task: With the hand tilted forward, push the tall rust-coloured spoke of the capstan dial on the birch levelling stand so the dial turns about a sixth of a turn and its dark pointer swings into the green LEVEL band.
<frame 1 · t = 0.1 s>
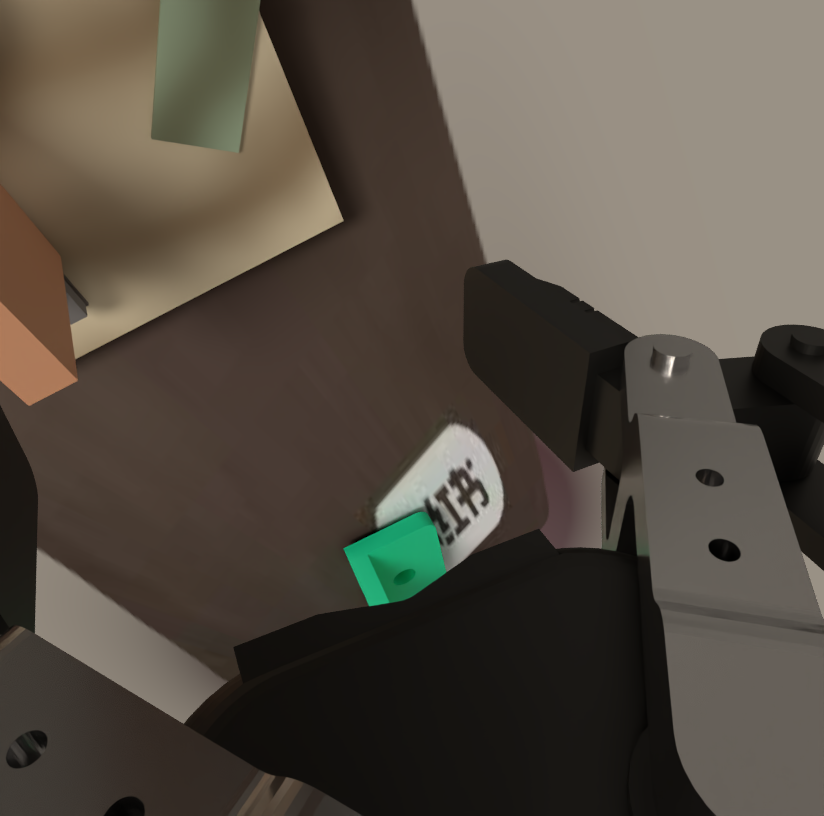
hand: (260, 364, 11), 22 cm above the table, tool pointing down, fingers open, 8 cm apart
camera mount: (391, 552, 60), on the table
level stand: (11, 43, 25), on the table
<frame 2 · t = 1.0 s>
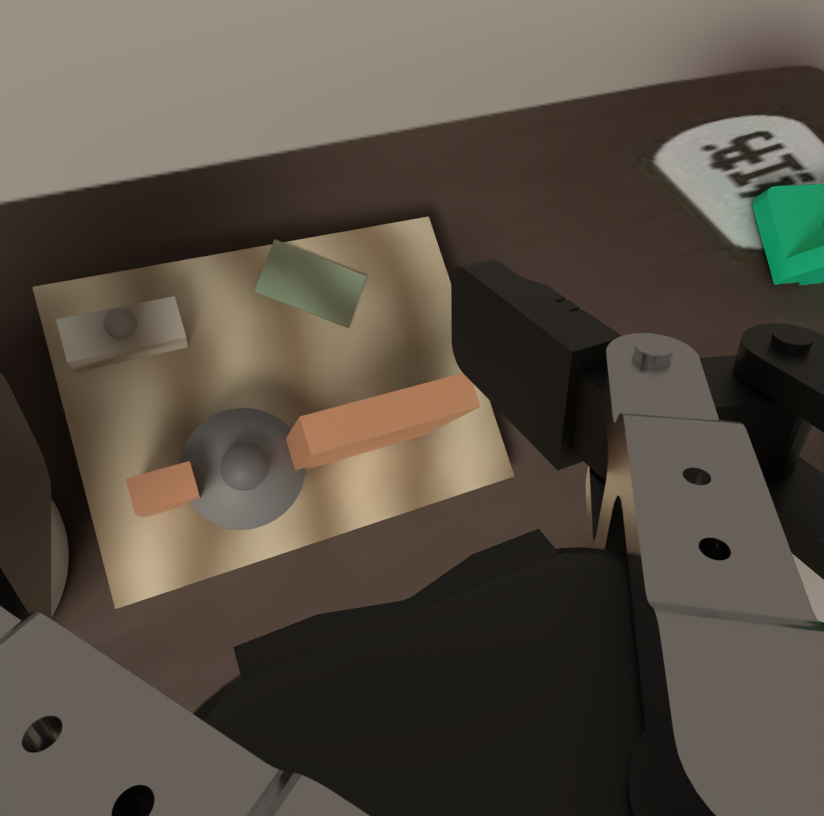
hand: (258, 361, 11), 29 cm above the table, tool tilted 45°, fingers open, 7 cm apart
capstan: (321, 441, 34), point 7 cm above the table, hinge at 0.0°
camera mount: (804, 242, 56), on the table
level stand: (288, 395, 41), on the table
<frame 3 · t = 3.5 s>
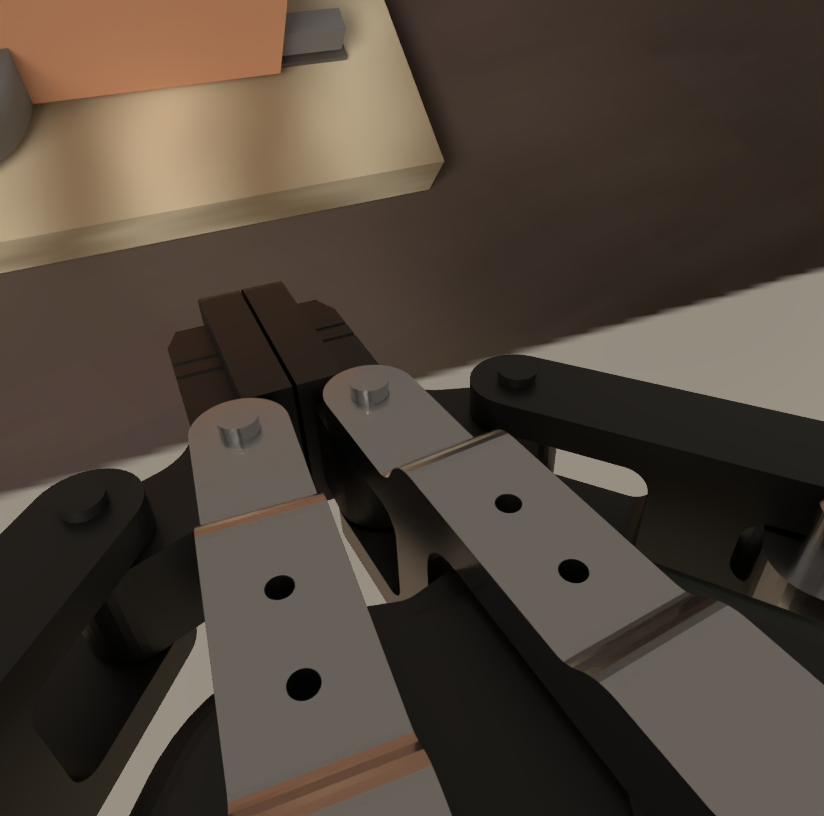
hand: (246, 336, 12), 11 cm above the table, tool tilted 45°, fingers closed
level stand: (45, 23, 23), on the table
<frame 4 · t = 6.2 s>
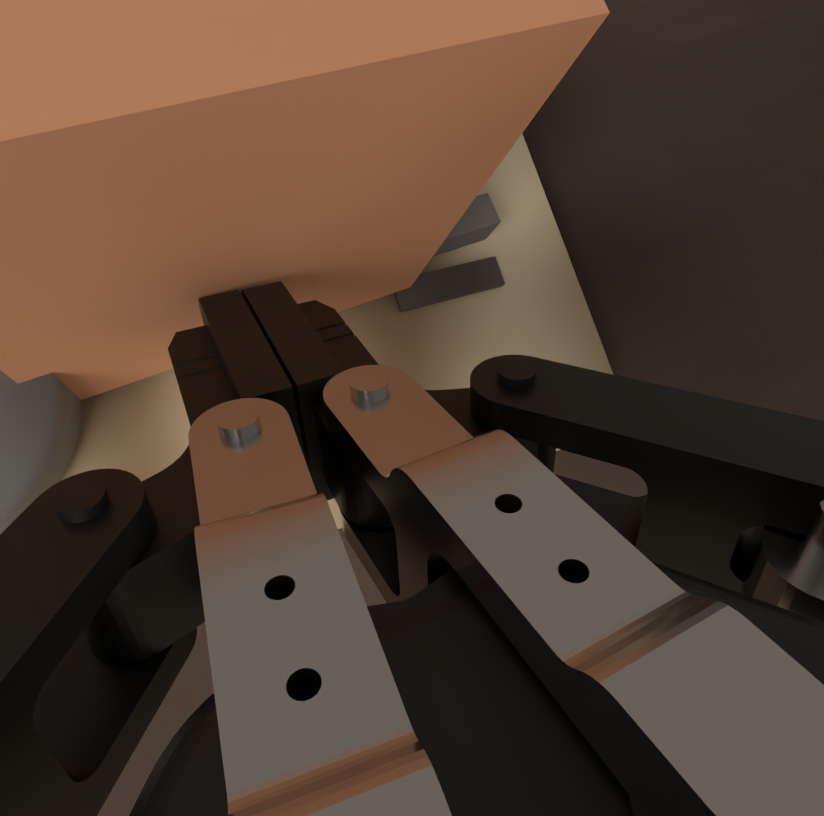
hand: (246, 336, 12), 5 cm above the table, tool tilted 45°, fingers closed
capstan: (57, 264, 10), point 7 cm above the table, hinge at 5.1°, touching gripper
level stand: (87, 240, 17), on the table
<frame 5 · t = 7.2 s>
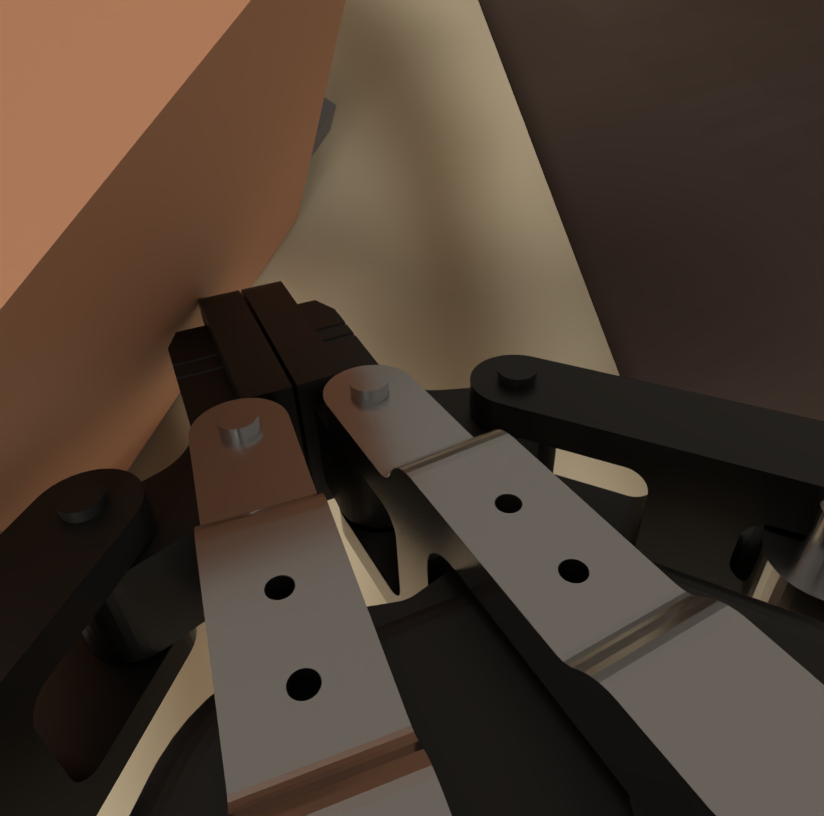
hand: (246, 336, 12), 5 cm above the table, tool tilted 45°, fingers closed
capstan: (22, 409, 9), point 7 cm above the table, hinge at 42.4°, touching gripper
level stand: (138, 398, 16), on the table
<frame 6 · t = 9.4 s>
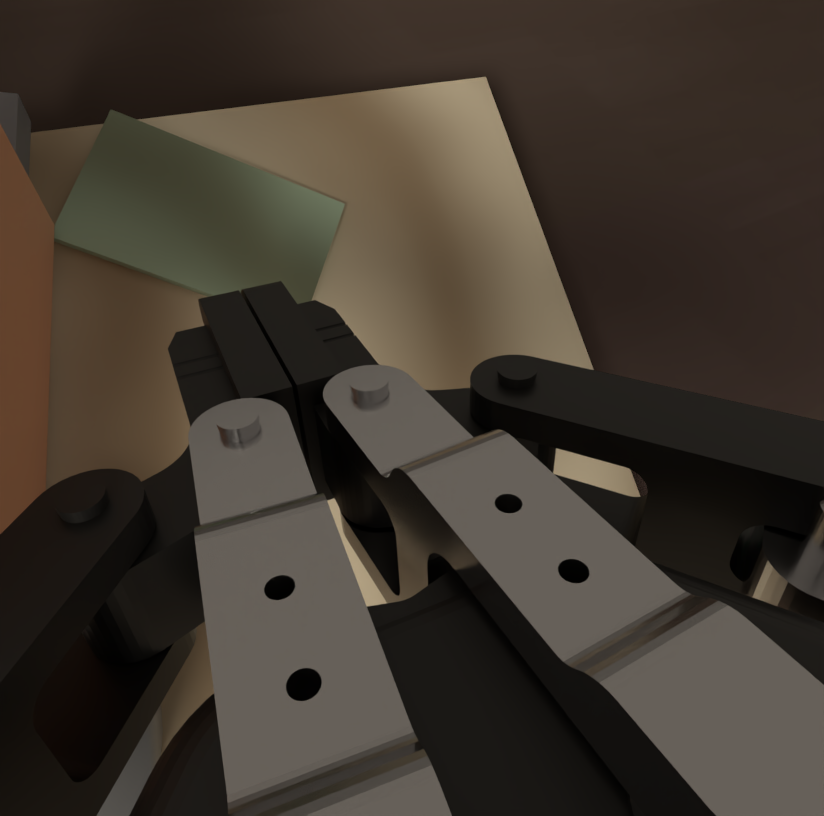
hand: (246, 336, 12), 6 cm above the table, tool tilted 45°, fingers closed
level stand: (156, 498, 16), on the table
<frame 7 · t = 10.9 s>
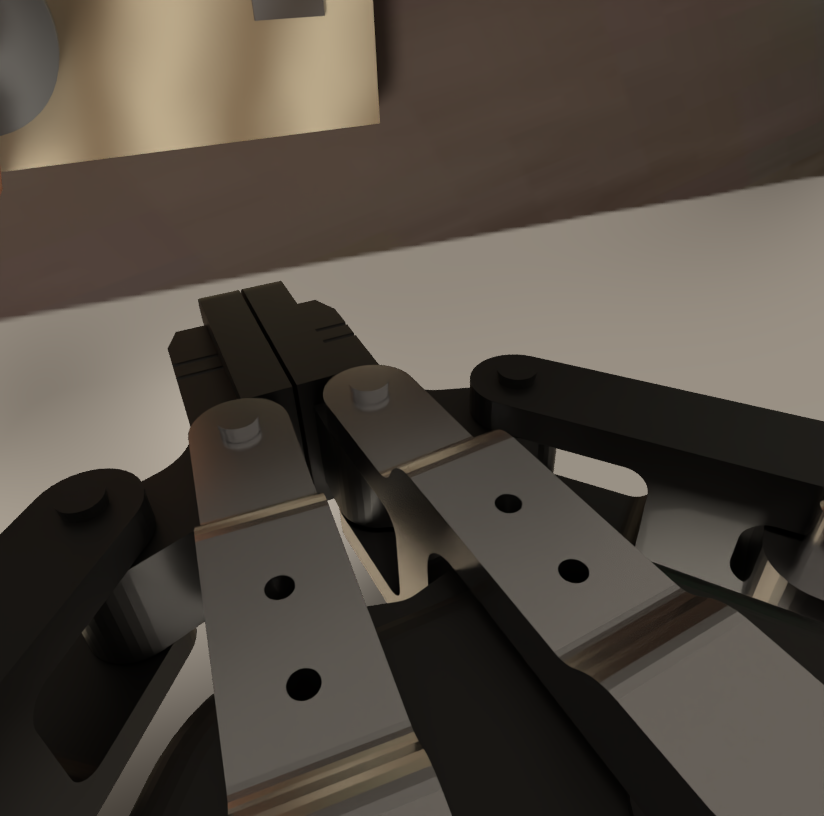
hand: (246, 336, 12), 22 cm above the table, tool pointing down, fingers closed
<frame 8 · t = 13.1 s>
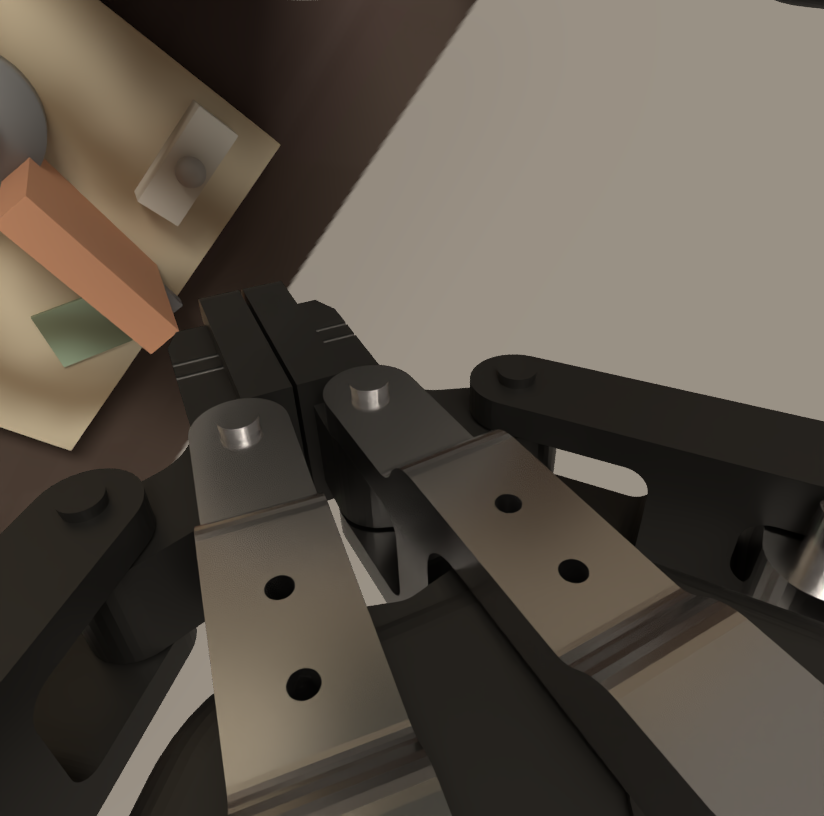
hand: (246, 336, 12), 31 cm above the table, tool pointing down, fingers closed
capstan: (41, 205, 31), point 7 cm above the table, hinge at 75.1°
level stand: (19, 215, 37), on the table
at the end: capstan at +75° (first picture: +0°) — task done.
